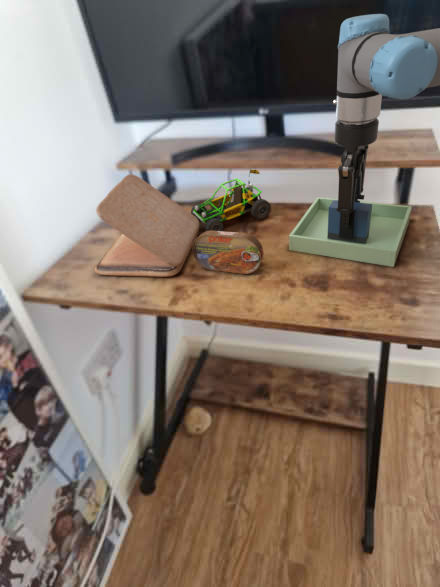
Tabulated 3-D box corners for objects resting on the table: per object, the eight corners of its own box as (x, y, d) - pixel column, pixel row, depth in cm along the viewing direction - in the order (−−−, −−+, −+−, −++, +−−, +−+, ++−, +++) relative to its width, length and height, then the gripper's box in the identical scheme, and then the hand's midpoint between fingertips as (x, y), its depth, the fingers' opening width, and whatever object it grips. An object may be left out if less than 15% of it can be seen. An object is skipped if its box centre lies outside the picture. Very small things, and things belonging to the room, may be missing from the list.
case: (180, 279, 84) (164, 209, 74) (90, 277, 89) (64, 211, 79) (204, 230, 99) (193, 167, 90) (127, 231, 105) (109, 171, 95)
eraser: (368, 235, 87) (372, 203, 82) (365, 243, 84) (368, 211, 80) (331, 230, 90) (333, 199, 86) (327, 238, 88) (328, 207, 83)
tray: (409, 220, 91) (412, 206, 89) (393, 267, 78) (396, 251, 76) (316, 210, 101) (317, 196, 98) (289, 250, 88) (288, 235, 86)
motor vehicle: (191, 220, 105) (184, 182, 98) (256, 199, 110) (253, 161, 103) (208, 238, 96) (202, 197, 90) (278, 215, 101) (277, 174, 95)
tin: (194, 268, 87) (188, 234, 82) (200, 260, 89) (194, 226, 84) (261, 276, 81) (259, 240, 76) (266, 268, 83) (264, 232, 78)
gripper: (347, 106, 80) (341, 213, 94) (322, 133, 69) (319, 249, 83) (387, 106, 76) (374, 217, 91) (368, 134, 65) (356, 255, 80)
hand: (348, 232), depth 87 cm, fingers closed on eraser, 3 cm apart
